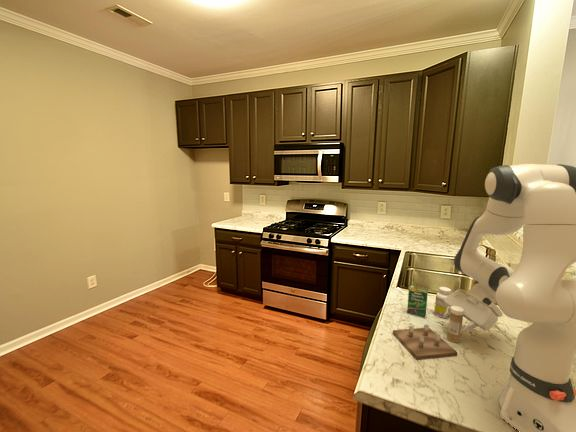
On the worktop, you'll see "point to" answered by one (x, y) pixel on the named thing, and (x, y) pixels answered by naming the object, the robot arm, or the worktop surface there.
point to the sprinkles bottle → (455, 323)
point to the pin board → (424, 343)
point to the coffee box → (417, 301)
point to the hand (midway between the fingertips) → (454, 323)
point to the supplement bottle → (441, 301)
